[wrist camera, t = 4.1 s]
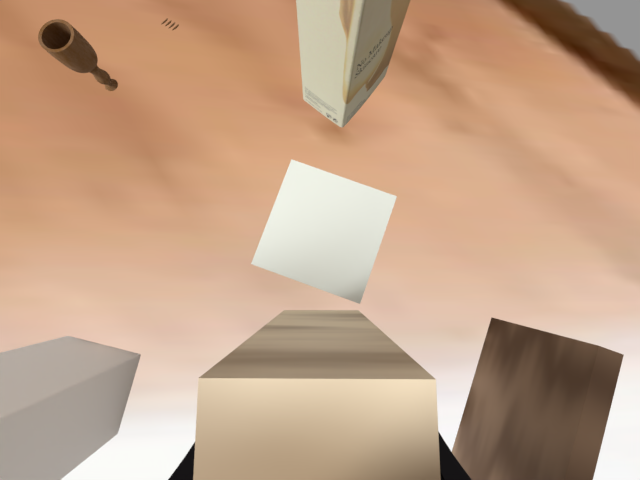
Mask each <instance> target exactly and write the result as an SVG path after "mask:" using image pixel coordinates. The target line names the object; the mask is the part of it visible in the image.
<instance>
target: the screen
mask: <svg viewBox="0 0 640 480" xmlns="http://www.w3.org/2000/svg"><path fill="white" fill-rule="evenodd" d="M623 356H624V355H623V354H621V353H618V352H615V351H612V350H609V349H607V348H604V347H601V346H598V345H594V344H591V343H587V342H583V341H579V340H575V339H572V338H568V337H564V336H560V335H557V334H553V333H549V332H545V331H541V330H538V329H534V328H530V327H526V326H522V325H519V324H515V323H511V322H507V321H504V320H500V319H496V318H492V317H491V321H490V324H489V327H488V331H487V334H486V338H485V341H484V344H483V348H482V351H481V354H480V358H479V361H478V365H477V368H476V371H475V375H474V378H473V381H472V385H471V388H470V392H469V395H468V398H467V402H466V405H465V408H464V412H463V415H462V419H461V422H460V425H459V429H458V432H457V435H456V439H455V442H454V446H453V449H452V453H453V455H454V456H455V457H456V459H457V460H458V462H459V463H460V464H461V466H462V467H463V469H464V470H465V471H466V473H467V474H468V475H469V477H470V478H471V479H472V480H593V477H594V473H595V469H596V465H597V461H598V457H599V453H600V449H601V445H602V441H603V437H604V433H605V429H606V425H607V421H608V417H609V412H610V408H611V404H612V400H613V396H614V392H615V388H616V384H617V380H618V376H619V372H620V368H621V364H622V360H623Z"/></svg>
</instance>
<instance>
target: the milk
mask: <svg viewBox="0 0 640 480" xmlns="http://www.w3.org/2000/svg"><path fill="white" fill-rule="evenodd" d="M140 356H141V354H138V353H134V352H130V351H126V350H122V349H118V348H115V347H111V346H107V345H103V344H99V343H95V342H91V341H87V340H83V339H79V338H75V337H71V336H65V337H61V338H57V339H53V340H49V341H45V342H41V343H37V344H33V345H29V346H25V347H21V348H17V349H13V350H9V351H5V352H1V353H0V480H61V479H62V478H63V477H64V476H66V475H67V474H68V473H69V472H71V471H72V470H73V469H74V468H76V467H77V466H78V465H79V464H81V463H82V462H83V461H84V460H86V459H87V458H88V457H89V456H91V455H92V454H93V453H94V452H96V451H97V450H98V449H100V448H101V447H102V446H103V445H105V444H106V443H107V442H108V441H110V440H111V439H112V438H113V437H114V436H116V435H117V434H118V431H119V428H120V424H121V421H122V418H123V414H124V411H125V407H126V404H127V401H128V397H129V394H130V390H131V387H132V384H133V380H134V377H135V373H136V370H137V367H138V363H139V360H140Z"/></svg>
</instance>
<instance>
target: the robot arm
mask: <svg viewBox="0 0 640 480" xmlns="http://www.w3.org/2000/svg"><path fill="white" fill-rule="evenodd" d="M438 434H439V456H440V478H441V480H472V479H471V478H470V477H469V475H468V474H467V473H466V471H465V470H464V469H463V467H462V466H461V464H460V463H459V462H458V460H457V459H456V457H455V456H454V455H453V453H452V452H451V450H450V449H449V447H448V446H447V444H446V443H445V441H444V439H443V438H442V436H441V435H440V433H439V432H438ZM194 454H195V442H194V444H193V445H192V447H191V448H190V450H189V451H188V453H187V454H186V456H185V457H184V459H183V460H182V461H181V463H180V464H179V466H178V467H177V468H176V470H175V471H174V472H173V474H172V475H171V476H170V478H169V479H168V480H193V474H194Z"/></svg>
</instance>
